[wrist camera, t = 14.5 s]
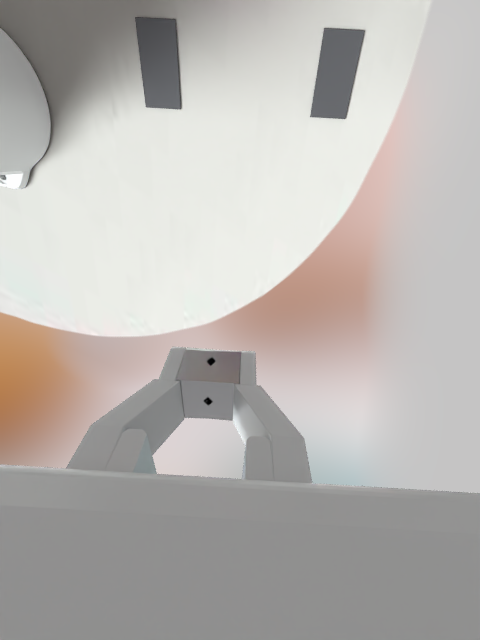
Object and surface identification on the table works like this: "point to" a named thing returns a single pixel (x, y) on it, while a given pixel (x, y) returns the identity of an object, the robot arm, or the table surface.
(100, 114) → the table surface
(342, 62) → the pads
